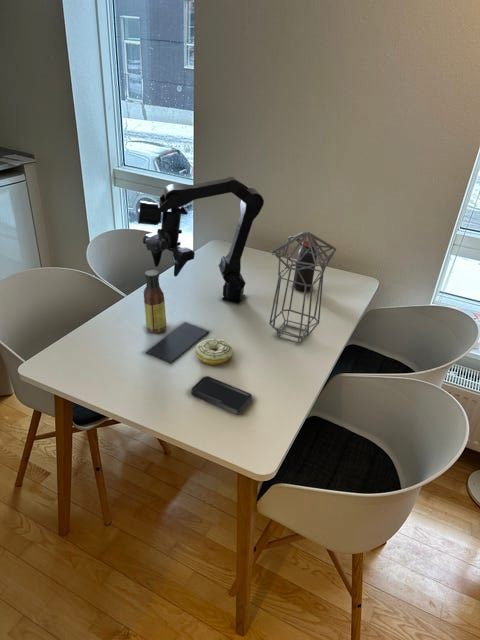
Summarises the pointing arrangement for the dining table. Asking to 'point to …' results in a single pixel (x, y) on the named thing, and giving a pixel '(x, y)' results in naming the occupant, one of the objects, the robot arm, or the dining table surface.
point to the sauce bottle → (154, 303)
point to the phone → (221, 394)
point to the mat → (177, 342)
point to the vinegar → (305, 273)
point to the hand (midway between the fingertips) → (165, 271)
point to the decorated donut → (214, 351)
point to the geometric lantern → (315, 244)
